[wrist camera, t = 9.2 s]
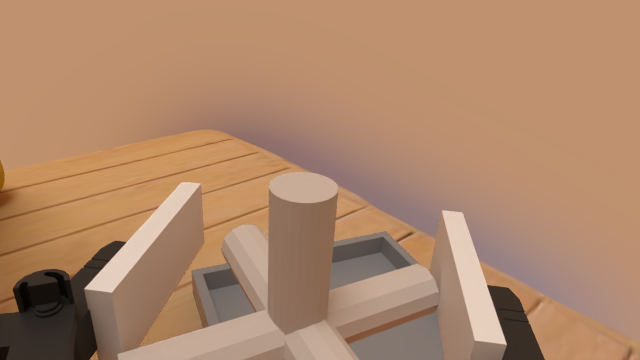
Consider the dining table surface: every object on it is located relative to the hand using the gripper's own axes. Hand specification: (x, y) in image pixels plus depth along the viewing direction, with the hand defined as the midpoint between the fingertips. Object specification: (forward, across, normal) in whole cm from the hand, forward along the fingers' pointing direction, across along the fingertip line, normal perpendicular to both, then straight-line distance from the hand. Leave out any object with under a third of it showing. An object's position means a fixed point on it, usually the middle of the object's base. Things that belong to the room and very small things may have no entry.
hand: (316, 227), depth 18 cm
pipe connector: (-4, 0, -6) cm, 8 cm away
